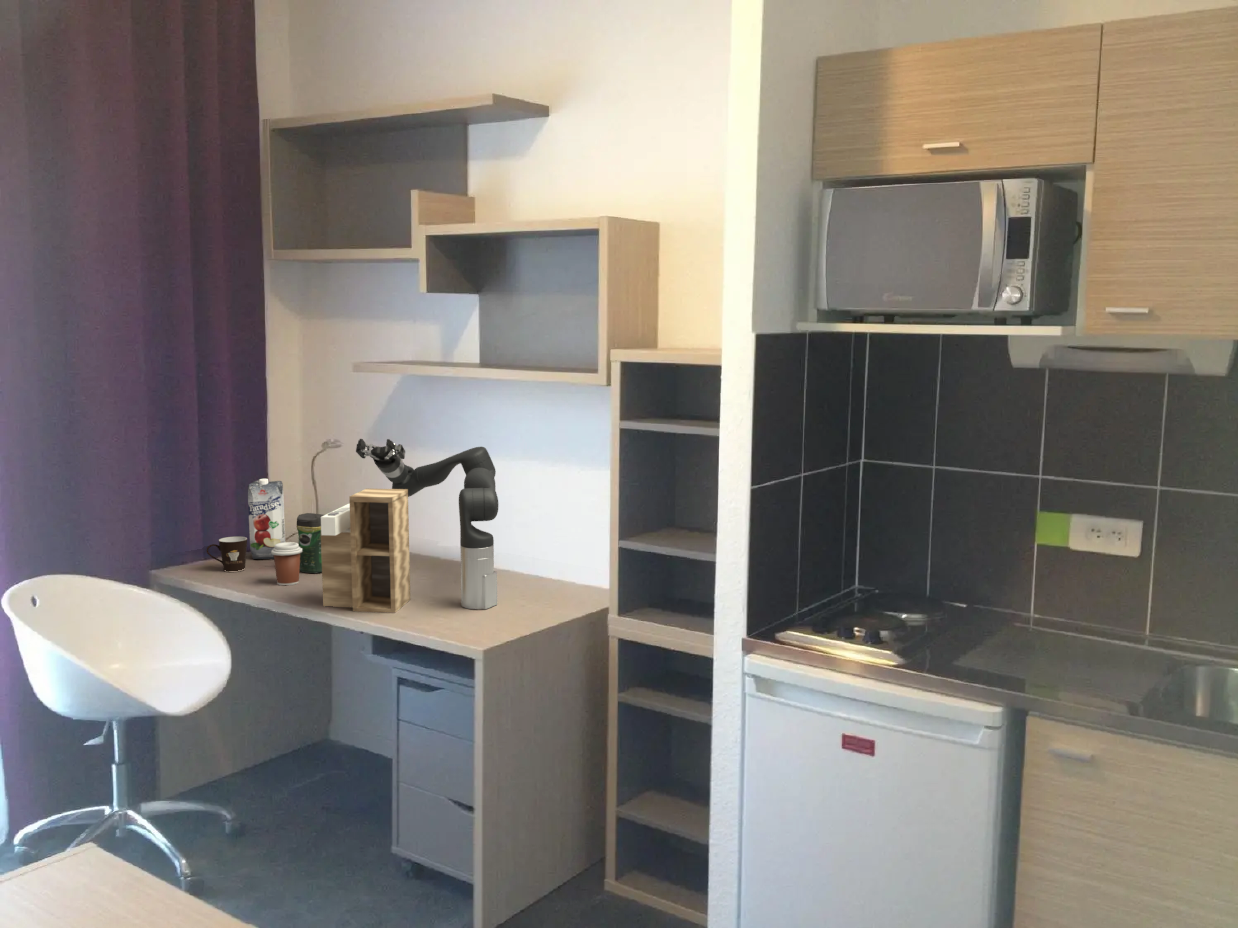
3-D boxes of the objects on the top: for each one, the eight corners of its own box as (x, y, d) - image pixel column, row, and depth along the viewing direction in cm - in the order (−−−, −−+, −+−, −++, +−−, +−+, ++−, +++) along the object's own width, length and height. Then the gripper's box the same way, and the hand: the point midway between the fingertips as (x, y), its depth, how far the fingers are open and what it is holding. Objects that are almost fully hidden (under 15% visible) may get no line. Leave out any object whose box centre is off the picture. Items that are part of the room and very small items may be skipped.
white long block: (352, 519, 318) (351, 500, 317) (365, 519, 317) (364, 501, 317) (321, 535, 294) (320, 515, 293) (335, 535, 294) (335, 515, 293)
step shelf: (338, 595, 315) (335, 486, 311) (412, 597, 312) (409, 488, 308) (317, 610, 299) (313, 495, 295) (395, 612, 297) (392, 497, 292)
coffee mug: (253, 567, 350) (251, 536, 349) (241, 573, 342) (239, 542, 341) (218, 566, 352) (217, 536, 350) (206, 572, 343) (204, 541, 342)
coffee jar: (334, 569, 347) (332, 512, 344) (316, 575, 340) (314, 516, 337) (311, 566, 351) (309, 510, 349) (293, 571, 344) (291, 514, 342)
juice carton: (256, 554, 369) (252, 476, 365) (287, 554, 369) (284, 476, 366) (248, 560, 360) (245, 480, 356) (281, 560, 360) (277, 480, 357)
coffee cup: (306, 579, 334) (305, 541, 333) (300, 586, 325) (298, 547, 324) (276, 579, 334) (274, 541, 332) (269, 586, 325) (267, 547, 323)
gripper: (369, 451, 344) (352, 430, 329) (412, 451, 343) (398, 430, 328) (365, 472, 341) (349, 452, 326) (409, 473, 340) (395, 453, 325)
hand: (374, 441), depth 327 cm, fingers open, 8 cm apart
